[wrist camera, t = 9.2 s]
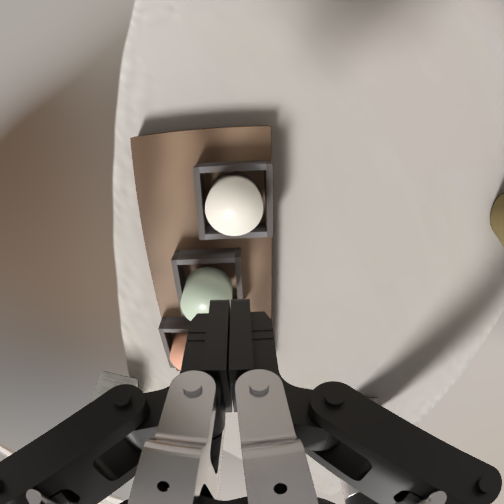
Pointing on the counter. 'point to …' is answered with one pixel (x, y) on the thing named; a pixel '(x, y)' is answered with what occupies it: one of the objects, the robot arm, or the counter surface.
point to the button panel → (201, 215)
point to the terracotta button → (178, 349)
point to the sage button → (204, 290)
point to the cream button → (234, 205)
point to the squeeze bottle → (498, 218)
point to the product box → (111, 383)
